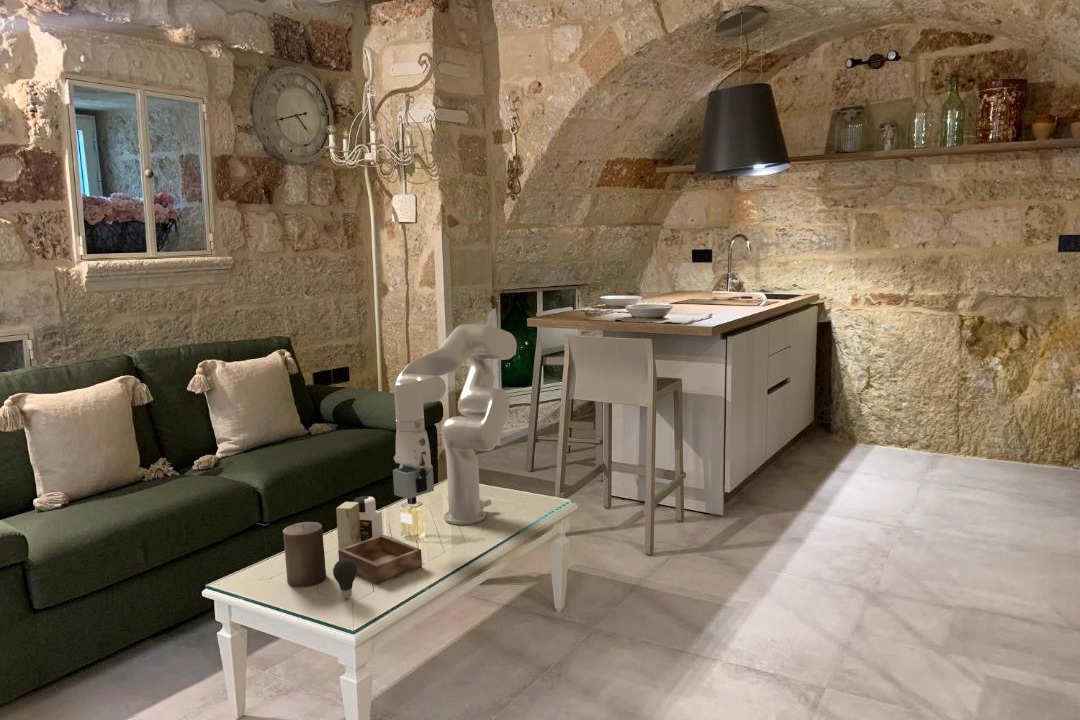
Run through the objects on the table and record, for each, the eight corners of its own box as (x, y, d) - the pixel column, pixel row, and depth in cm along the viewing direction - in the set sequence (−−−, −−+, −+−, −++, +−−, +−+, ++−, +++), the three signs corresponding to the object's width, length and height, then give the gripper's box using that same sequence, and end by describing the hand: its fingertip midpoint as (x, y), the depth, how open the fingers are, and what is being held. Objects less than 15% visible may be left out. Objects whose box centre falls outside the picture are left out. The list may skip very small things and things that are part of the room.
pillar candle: (330, 581, 210) (326, 524, 208) (291, 590, 206) (287, 532, 204) (320, 569, 219) (316, 514, 217) (282, 577, 214) (278, 521, 212)
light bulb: (335, 605, 197) (332, 565, 195) (334, 595, 202) (331, 556, 200) (359, 601, 198) (357, 562, 197) (357, 592, 204) (355, 553, 202)
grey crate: (420, 486, 233) (418, 462, 232) (433, 490, 229) (432, 466, 228) (394, 494, 227) (392, 470, 226) (408, 499, 223) (406, 474, 222)
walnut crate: (382, 552, 229) (381, 534, 228) (422, 567, 217) (421, 549, 217) (339, 567, 219) (338, 549, 218) (378, 585, 207) (376, 566, 207)
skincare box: (352, 551, 230) (349, 509, 228) (338, 550, 231) (335, 508, 229) (362, 542, 236) (359, 501, 234) (347, 542, 237) (345, 500, 235)
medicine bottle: (349, 541, 237) (347, 501, 235) (360, 532, 244) (358, 493, 242) (372, 543, 236) (370, 502, 234) (383, 534, 242) (381, 494, 241)
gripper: (441, 427, 222) (445, 491, 225) (401, 418, 234) (405, 479, 237) (419, 432, 217) (423, 499, 219) (379, 423, 228) (383, 486, 231)
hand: (414, 488), depth 228 cm, fingers closed on grey crate, 6 cm apart
